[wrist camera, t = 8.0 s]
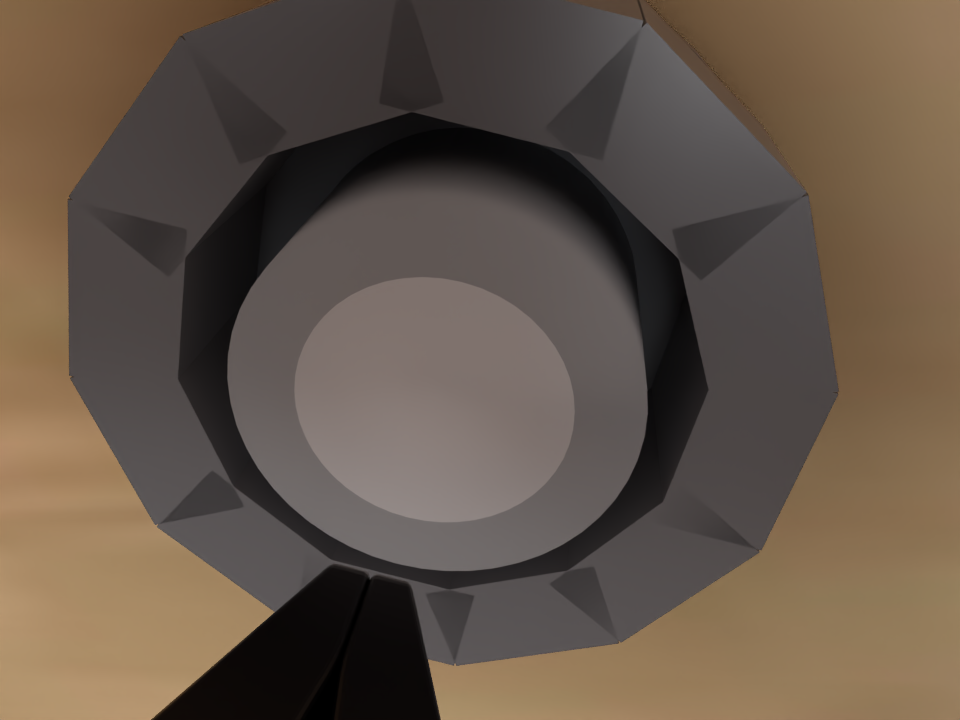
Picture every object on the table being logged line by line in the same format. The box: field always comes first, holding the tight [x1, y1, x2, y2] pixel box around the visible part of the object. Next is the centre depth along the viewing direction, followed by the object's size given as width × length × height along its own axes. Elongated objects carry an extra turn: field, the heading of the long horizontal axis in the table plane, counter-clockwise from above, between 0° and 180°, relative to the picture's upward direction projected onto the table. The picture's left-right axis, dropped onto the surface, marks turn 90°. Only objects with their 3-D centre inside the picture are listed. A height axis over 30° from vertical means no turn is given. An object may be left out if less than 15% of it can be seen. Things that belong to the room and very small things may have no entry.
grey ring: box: [68, 0, 839, 666], centre depth 15 cm, size 11×11×4 cm
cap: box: [227, 127, 648, 571], centre depth 14 cm, size 6×6×4 cm
